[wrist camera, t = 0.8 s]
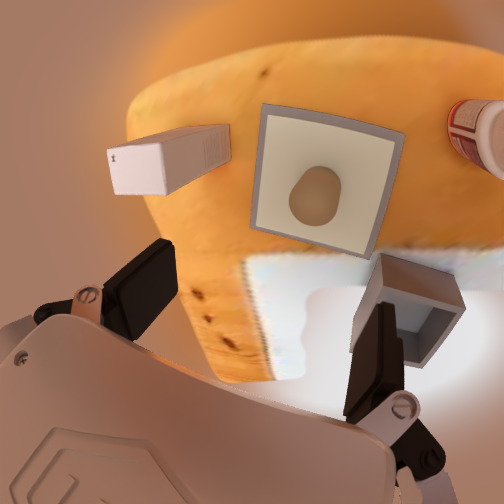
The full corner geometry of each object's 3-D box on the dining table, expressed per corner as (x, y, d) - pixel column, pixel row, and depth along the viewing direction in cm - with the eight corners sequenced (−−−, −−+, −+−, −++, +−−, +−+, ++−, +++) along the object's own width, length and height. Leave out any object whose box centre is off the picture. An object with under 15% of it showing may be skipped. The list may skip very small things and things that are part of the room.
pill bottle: (494, 163, 18) (554, 202, 9) (445, 156, 20) (495, 191, 11) (494, 105, 15) (559, 115, 6) (443, 94, 17) (497, 92, 8)
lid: (393, 141, 21) (404, 150, 17) (363, 250, 28) (363, 282, 23) (270, 114, 24) (248, 117, 19) (258, 222, 31) (238, 247, 26)
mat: (404, 134, 21) (405, 134, 21) (369, 258, 29) (369, 260, 28) (263, 103, 24) (261, 103, 24) (250, 226, 32) (249, 228, 32)
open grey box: (453, 275, 25) (466, 308, 20) (418, 334, 31) (422, 368, 26) (380, 253, 28) (383, 285, 23) (353, 317, 33) (349, 352, 28)
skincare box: (186, 161, 31) (112, 195, 21) (183, 126, 28) (104, 147, 19) (233, 161, 29) (167, 197, 19) (231, 123, 26) (159, 140, 17)
